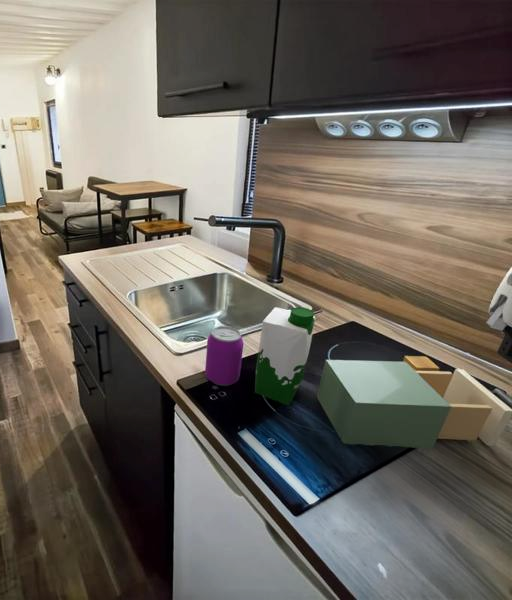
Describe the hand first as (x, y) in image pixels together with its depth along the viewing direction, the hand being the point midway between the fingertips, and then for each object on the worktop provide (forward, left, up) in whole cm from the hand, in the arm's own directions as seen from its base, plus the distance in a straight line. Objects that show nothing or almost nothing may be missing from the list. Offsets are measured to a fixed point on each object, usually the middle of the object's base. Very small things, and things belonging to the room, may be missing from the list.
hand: (509, 358), depth 61 cm
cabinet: (+18, 0, -15) cm, 24 cm away
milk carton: (+33, -8, -15) cm, 38 cm away
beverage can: (+44, -12, -15) cm, 48 cm away
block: (+2, -14, -15) cm, 21 cm away
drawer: (+5, 0, -14) cm, 15 cm away
